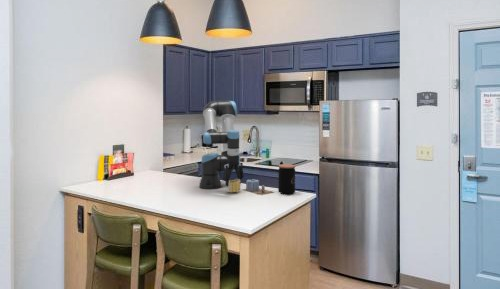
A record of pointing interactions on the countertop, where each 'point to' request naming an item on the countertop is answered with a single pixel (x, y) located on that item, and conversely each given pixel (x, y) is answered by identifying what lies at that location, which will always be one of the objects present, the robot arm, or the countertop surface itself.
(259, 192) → the gear board
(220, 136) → the robot arm
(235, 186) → the gear
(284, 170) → the coffee jar
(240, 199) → the countertop surface
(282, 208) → the countertop surface
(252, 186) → the gear
